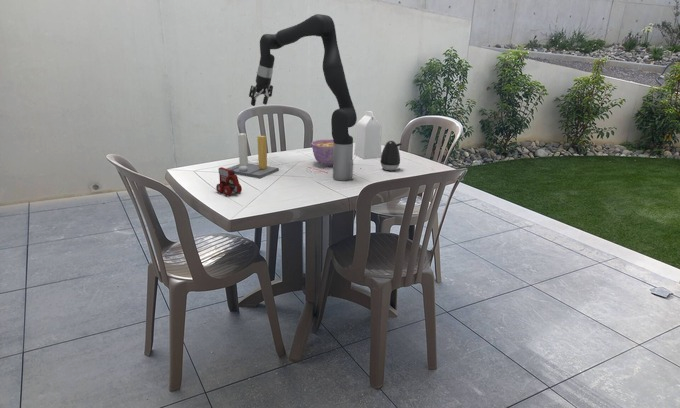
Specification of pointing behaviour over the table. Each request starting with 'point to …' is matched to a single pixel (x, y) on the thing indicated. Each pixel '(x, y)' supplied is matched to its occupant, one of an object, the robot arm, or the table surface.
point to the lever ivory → (242, 149)
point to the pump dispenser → (390, 156)
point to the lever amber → (262, 152)
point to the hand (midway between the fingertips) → (258, 104)
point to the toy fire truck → (228, 182)
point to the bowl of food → (323, 151)
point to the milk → (368, 137)
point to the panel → (254, 170)
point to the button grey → (243, 168)
